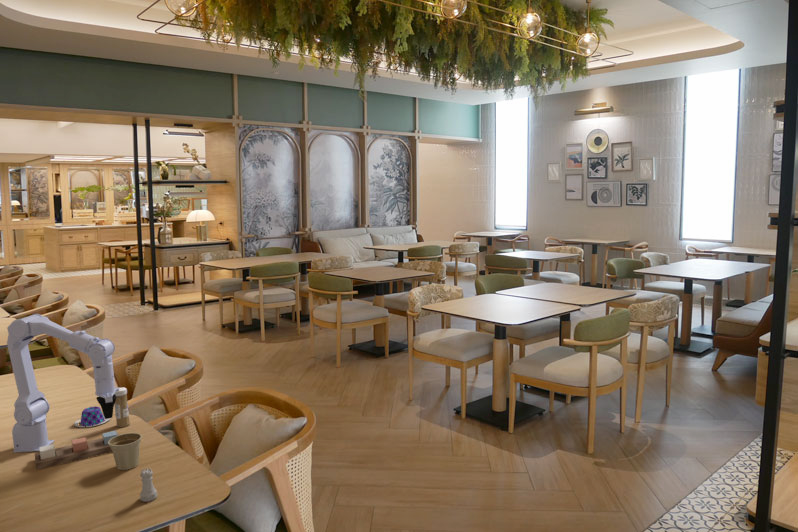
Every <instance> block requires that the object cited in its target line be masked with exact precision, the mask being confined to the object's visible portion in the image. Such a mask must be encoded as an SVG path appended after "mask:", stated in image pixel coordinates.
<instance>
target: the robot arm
mask: <svg viewBox="0 0 798 532" xmlns="http://www.w3.org/2000/svg"><path fill="white" fill-rule="evenodd" d="M6 329H7V333H8V336H7V340H6V344H7V349H8V354H9V358H10V364H11V366H12V371H13V372H12V373H13V376H14V380H15V384H16V390H17V393H18V396H17V398H16V400H15V402H14V404H13V406H14V411H13V418H14V420H15V422H16V423H14V424H13V427H12V431H11V433H12V443H13V449H14V450H12V453H26V452H29V453H30V452H40V448H39V447H43V446H48V445H52V444H53V443H54V442H55V440H54V439H49V436H48V435H49V433H48V427H47V417H48V416H47V414H48V413H49V411H50V409H51V408H50V406H51V405H50V403H49V401H48V400H47V398H46V397H45V396H46V395H45V393H44V392H42V391H40V390H39V389H38V384H37V380H36V375H35V370H34V366H33V363H32V362H33V361H32V358H31V353H30V350H29V349H30V348H29V343H31V341H32V340H33V339H34V338H35V337H37V336H39V335H48V336H50V337H53V338H55V339H58V340H62V341H63V342H64V341H65V342H67V343H68V346H69V347H70V348H71V349H74V350H76V351H79V352H81V353H84V354H86V355H88V358H89V359H90V360H91V364H92V366H93V367H92V368H93V369H92V370H93V377H94V378H93V379H94V387H95V392H94V394H95V396H96V398H95V399H96V401H97V403H98V404H99V407H100V409H101V411H102V414H103V415H104V417H105V418H104V420H105V419H108V418H110V419H112V418H113V415H114V409H115V406H114V403H115V401H116V398H117V397H116V395H115V392H116V391H119V388H120V387H119V386H118V387H116V384H115V382H116V381H115V372H114V363H113V354H114V352H115V349H116V347H115V344H114V342H113V341H112V340H110V339H109V338H102V339H101V338H100V337H98V336H93V335H90V334H89V333H87V331H85V330H76V331H72V330H70V329H68V328H66V327H64V326H62V325H60V324H58V323H56V322H54V321H52V320H50V319H49V318H48V316H44V315H41V314H40V313H33V314H31V315H29V316H26V317H22V318H17V319H15V320H13V321H12V322H11V323H10V324H9V325H8V326H7V328H6Z"/></svg>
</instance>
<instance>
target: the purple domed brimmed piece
mask: <svg viewBox="0 0 798 532" xmlns="http://www.w3.org/2000/svg"><path fill="white" fill-rule="evenodd" d="M109 420H111V418H108V419H105V417H104V415H103V411H102V408H101V406H97V405H95V406H89V407H86V408H84V409H82V411H81V416H80V419H77V420H76V421H75V422H74V423H73V425H74V426H75V427H77V428H91V427H95V426H99V425H102V424H104V423H107V422H108V421H109ZM79 421H81V422H80V425H81V426H79V425H78V423H79ZM96 424H97V425H96ZM92 425H93V426H92ZM85 426H86V427H85Z"/></svg>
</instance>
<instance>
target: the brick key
mask: <svg viewBox="0 0 798 532" xmlns="http://www.w3.org/2000/svg"><path fill="white" fill-rule="evenodd" d="M87 442H88V441H87V438H86V436H85V437H80V438H75V439H72V440H71V445H72V447H73V452H77V451H81V450H86V449H88V447H87Z"/></svg>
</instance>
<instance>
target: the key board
mask: <svg viewBox="0 0 798 532" xmlns="http://www.w3.org/2000/svg"><path fill="white" fill-rule="evenodd" d="M118 435H121V434H118ZM87 447H88V449H86V450H81V451H77V452H73V447H72V444H70V445H66V446H62V447H57V448H55V455H56V456H55V457H51V458H47V459H42V460H41V457H40V451H37V452H35V453H34V462H35V470H36V471H38V470H42V469H45V468H49V467H55V466H60V465H62V464H63V463H64V464H67V462H68V463H71V461H72V462H76V461H80V459H81V460H84V458H85V459H89V458H93V457H96V455H98V456H102V455H105V453H106V454H109V453H113V452H112V449H111V448H110V445H104V442H103V437H102V438H101V437H100V438H97V439H93V440H88V441H87ZM101 454H102V455H101ZM92 456H93V457H92ZM88 457H89V458H88ZM75 460H76V461H75Z"/></svg>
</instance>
